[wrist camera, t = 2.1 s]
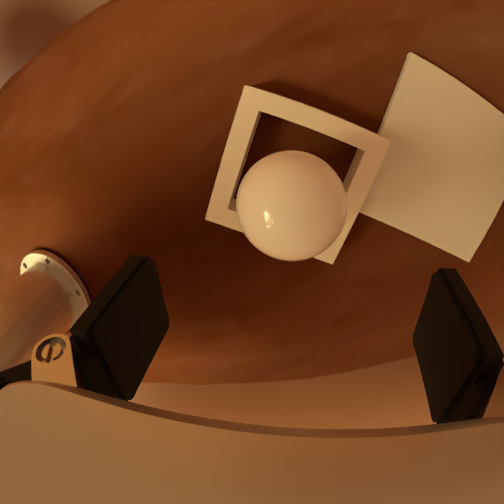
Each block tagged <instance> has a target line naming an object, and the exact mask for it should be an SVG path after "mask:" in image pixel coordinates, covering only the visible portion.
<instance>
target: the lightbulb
mask: <svg viewBox="0 0 504 504" xmlns="http://www.w3.org/2000/svg"><path fill="white" fill-rule="evenodd" d="M236 210H237V217H238V221H239V224H240V226H241V229H242V231H243V233H244V234H245V236H246V237H247V239H248V240H249V241H250V242H251V243H252V244H253V245H254V246H255V247H256V248H257V249H258V250H260V251H261V252H263V253H264V254H266V255H268V256H270V257H273V258H276V259H279V260H284V261H300V260H305V259H309V258H312V257H314V256H316V255H318V254H320V253H322V252H323V251H325V250H326V249H327V248H329V247H330V246H331V245H332V244H333V243H334V241H335V240H336V239H337V237H338V236H339V234H340V233H341V231H342V229H343V226H344V223H345V220H346V215H347V197H346V192H345V189H344V186H343V184H342V181H341V180H340V178H339V176H338V175H337V173H336V172H335V171H334V169H333V168H332V167H331V166H330V165H329V164H328V163H326V162H325V161H324V160H322V159H321V158H319V157H317V156H315V155H313V154H310V153H307V152H304V151H298V150H285V151H279V152H275V153H272V154H270V155H267V156H265V157H264V158H262V159H260V160H259V161H258V162H256V163H255V164H254V165H253V166H252V167H251V168H250V169H249V170H248V172H247V173H246V174H245V176H244V178H243V179H242V181H241V184H240V186H239V189H238V193H237V199H236Z"/></svg>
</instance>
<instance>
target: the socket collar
mask: <svg viewBox="0 0 504 504" xmlns="http://www.w3.org/2000/svg"><path fill="white" fill-rule="evenodd" d="M262 112H264V113H267V114H270V115H273V116H276V117H279V118H282V119H285V120H288V121H291V122H294V123H296V124H299V125H302V126H305V127H307V128H310V129H313V130H315V131H318V132H320V133H323V134H325V135H328V136H330V137H333V138H335V139H338V140H340V141H343V142H345V143H347V144H350V145H352V146H354V147H357V148H358V149H357V151H356V154H355V156H354V158H353V161H352V163H351V165H350V168H349V170H348V172H347V175H346V177H345V179H344V182H343V186H344V189H345V192H346V197H347V215H346V220H345V223H344V226H343V229H342V231H341V233H340V234H339V236H338V237H337V239H336V240H335V241H334V243H333V244H332V245H331V246H330V247H329V248H327V249H326V250H325V251H323V252H322V253H320V254H318V255H316V256H314V257H313V258H316V259H319V260H321V261H324V262H327V263H330V264H333V263H334V261H335V259H336V257H337V255H338V253H339V251H340V249H341V247H342V245H343V243H344V241H345V239H346V237H347V235H348V233H349V231H350V229H351V227H352V225H353V223H354V221H355V219H356V217H357V215H358V213H359V211H360V209H361V207H362V204H363V202H364V200H365V198H366V196H367V194H368V192H369V190H370V187H371V185H372V183H373V181H374V179H375V176H376V174H377V172H378V170H379V168H380V165H381V163H382V161H383V158H384V156H385V154H386V152H387V149H388V147H389V145H390V142H391V141H389V140H388V139H386V138H384V137H382V136H380V135H378V134H377V133H374V132H372V131H370V130H368V129H366V128H364V127H361V126H359V125H357V124H354V123H352V122H350V121H347V120H345V119H343V118H340V117H338V116H335V115H333V114H331V113H328V112H325V111H323V110H320V109H318V108H315V107H312V106H310V105H307V104H304V103H302V102H299V101H296V100H293V99H290V98H287V97H284V96H281V95H278V94H275V93H272V92H269V91H266V90H263V89H260V88H256V87H253V86H248V85H245V86H244V89H243V92H242V95H241V99H240V102H239V105H238V108H237V111H236V114H235V117H234V121H233V124H232V127H231V130H230V134H229V137H228V140H227V143H226V147H225V150H224V153H223V157H222V160H221V164H220V167H219V171H218V174H217V178H216V181H215V185H214V188H213V192H212V195H211V199H210V203H209V206H208V210H207V214H206V217H205V220H208V221H211V222H214V223H217V224H220V225H222V226H225V227H228V228H231V229H234V230H237V231H240V232H243V231H242V229H241V226H240V224H239V221H238V217H237V210H236V199H234V196H235V193H236V190H237V187H238V183H239V180H240V177H241V174H242V171H243V168H244V165H245V162H246V158H247V155H248V152H249V149H250V146H251V143H252V140H253V137H254V134H255V131H256V128H257V125H258V122H259V119H260V116H261V113H262Z"/></svg>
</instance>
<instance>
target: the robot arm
mask: <svg viewBox="0 0 504 504" xmlns="http://www.w3.org/2000/svg"><path fill="white" fill-rule="evenodd" d="M168 327H169V318H168V314H167V310H166V307H165V303H164V299H163V295H162V291H161V287H160V283H159V278H158V274H157V270H156V265H155V262H154V261H153V260H151V259H150V257H149V256H143V255H132V256H131V257H130V258H129V259H128V260H127V261H126V263H125V264H124V265H123V266H122V267H121V268H120V269H119V271H118V272H117V273H116V274H115V275H114V276H113V277H112V279H111V280H110V281H109V282H108V283H107V284H106V286H105V287H104V288H103V289H102V290H101V291H100V293H99V294H98V295H97V296H96V297H95V299H94V300H93V301H92V302H91V301H90V297H89V295H88V292H87V290H86V288H85V286H84V284H83V282H82V281H81V279H80V278H79V277H78V275H77V274H76V273H75V272H74V270H73V269H72V268H71V267H70V266H69V265H68V264H67V263H66V262H65V261H64V260H62V259H61V258H59V257H58V256H57V255H55V254H53V253H51V252H48V251H45V250H38V249H37V250H33V251H31V252H30V253H28V254H27V255H26V256H25V257H24V258H23V260H22V262H21V276H20V277H19V278H17V279H16V280H15V281H14V282H13V283H12V284H11V285H10V286H9V287H8V288H7V289H6V290H5V291H4V292H3V293H2V294H0V504H504V362H503V360H502V358H503V357H504V355H503V353H502V351H501V349H500V346H499V345H498V342H497V341H496V338H495V336H494V334H493V333H492V331H491V329H490V327H489V325H488V323H487V321H486V319H485V317H484V316H483V314H482V312H481V310H480V308H479V307H478V305H477V303H476V301H475V300H474V298H473V296H472V295H471V293H470V291H469V290H468V288H467V286H466V285H465V283H464V281H463V280H462V278H461V277H460V275H459V273H458V272H457V270H456V269H450V268H440V269H438V271H437V272H435V273H433V275H432V278H431V282H430V285H429V288H428V292H427V295H426V298H425V301H424V304H423V307H422V310H421V313H420V316H419V319H418V322H417V325H416V327H415V330H414V333H413V345H414V348H415V352H416V355H417V359H418V362H419V366H420V370H421V374H422V378H423V382H424V386H425V390H426V395H427V399H428V404H429V408H430V413H431V417H432V420H433V422H436V423H437V424H432V425H423V426H412V427H399V428H383V429H357V430H356V429H354V430H353V429H349V430H347V429H346V430H342V429H340V430H339V429H302V428H285V427H272V426H262V425H252V424H244V423H236V422H228V421H221V420H215V419H208V418H202V417H196V416H191V415H186V414H180V413H176V412H170V411H166V410H161V409H157V408H153V407H148V406H144V405H140V404H136V403H132V402H129V401H128V400H131V399H132V398H133V397H134V395H135V393H136V391H137V389H138V387H139V385H140V383H141V381H142V379H143V377H144V375H145V373H146V371H147V369H148V367H149V365H150V363H151V361H152V359H153V357H154V355H155V353H156V351H157V349H158V348H159V346H160V344H161V342H162V340H163V338H164V336H165V334H166V332H167V330H168ZM68 330H70V332H71V334H72V335H71V336H70V338H68V337H67V336H66V335H65V333H66V332H67V331H68Z"/></svg>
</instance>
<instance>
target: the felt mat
mask: <svg viewBox="0 0 504 504" xmlns="http://www.w3.org/2000/svg"><path fill="white" fill-rule="evenodd" d="M377 134H378V135H380V136H382V137H384V138H386V139H388V140H389V141H391V142H390V145H389V147H388V149H387V152H386V154H385V156H384V158H383V161H382V163H381V165H380V168H379V170H378V172H377V174H376V176H375V179H374V181H373V183H372V185H371V187H370V190H369V192H368V194H367V196H366V198H365V200H364V202H363V204H362V207H361V209H360V211H359V212H360V213H362V214H365V215H367V216H369V217H372V218H374V219H376V220H379V221H381V222H383V223H386V224H388V225H390V226H393V227H395V228H397V229H399V230H402V231H404V232H406V233H408V234H410V235H413V236H415V237H417V238H419V239H421V240H423V241H426V242H428V243H430V244H432V245H434V246H436V247H438V248H440V249H442V250H444V251H446V252H448V253H451V254H453V255H455V256H457V257H459V258H461V259H463V260H465V261H467V262H469V261H470V260H471V258H472V257H473V255H474V253H475V252H476V250H477V248H478V247H479V245H480V243H481V242H482V240H483V238H484V236H485V235H486V233H487V231H488V229H489V227H490V226H491V224H492V222H493V220H494V218H495V216H496V214H497V212H498V210H499V208H500V206H501V204H502V202H503V200H504V114H503V113H501V112H500V111H499V110H498V109H496V108H495V107H494V106H493V105H491V104H490V103H489V102H488V101H486V100H485V99H484V98H482V97H481V96H480V95H478V94H477V93H475V92H474V91H473V90H471V89H470V88H468V87H467V86H466V85H464V84H463V83H461V82H460V81H458V80H457V79H455V78H454V77H452V76H451V75H449V74H447V73H446V72H444V71H443V70H441V69H439V68H438V67H436V66H434V65H433V64H431V63H429V62H428V61H426V60H424V59H422V58H421V57H419V56H417V55H415V54H414V53H412V52H410V53H408V54H407V57H406V60H405V63H404V65H403V68H402V71H401V74H400V76H399V79H398V82H397V84H396V87H395V90H394V92H393V95H392V97H391V100H390V103H389V105H388V108H387V110H386V113H385V115H384V118H383V120H382V123H381V125H380V128H379V130H378V132H377Z"/></svg>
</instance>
